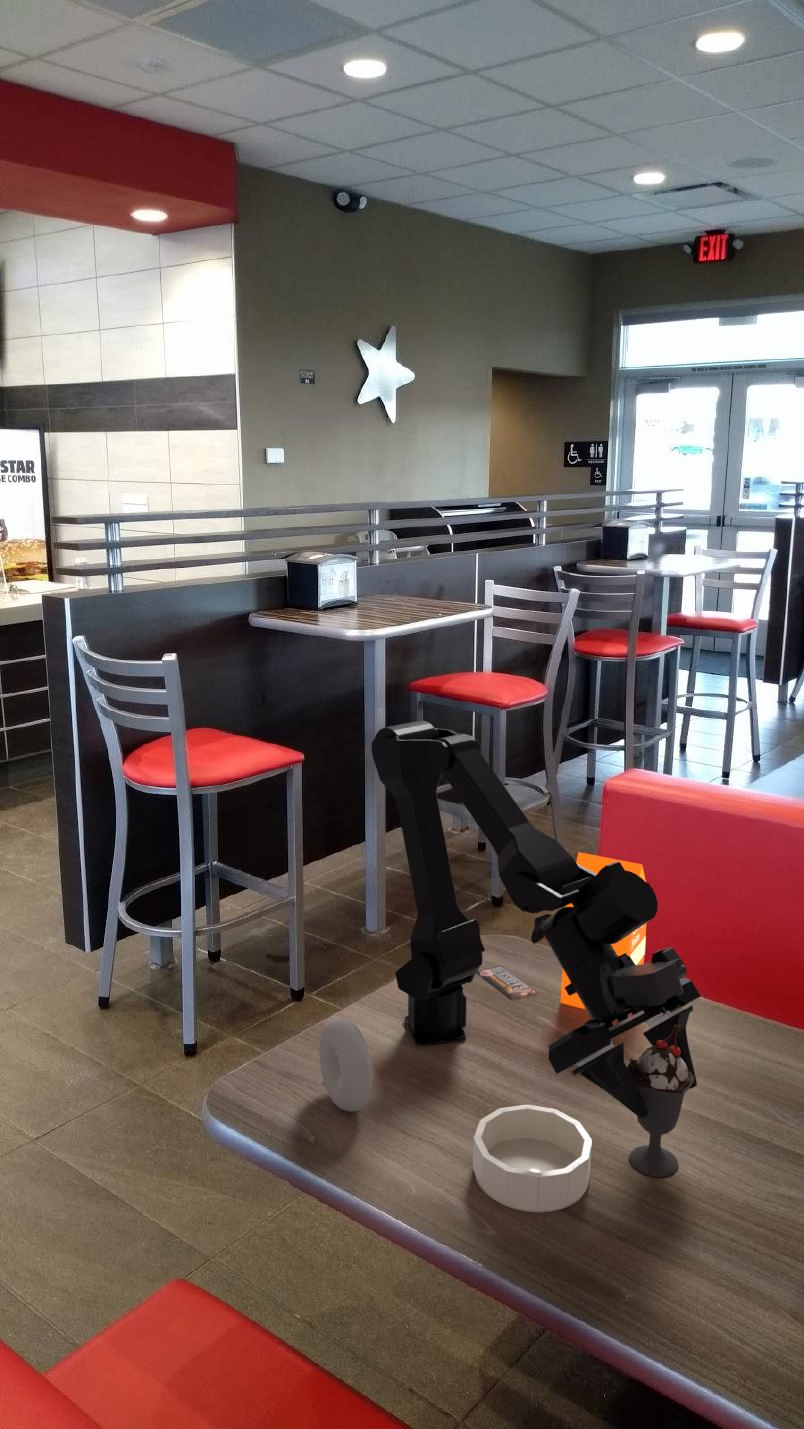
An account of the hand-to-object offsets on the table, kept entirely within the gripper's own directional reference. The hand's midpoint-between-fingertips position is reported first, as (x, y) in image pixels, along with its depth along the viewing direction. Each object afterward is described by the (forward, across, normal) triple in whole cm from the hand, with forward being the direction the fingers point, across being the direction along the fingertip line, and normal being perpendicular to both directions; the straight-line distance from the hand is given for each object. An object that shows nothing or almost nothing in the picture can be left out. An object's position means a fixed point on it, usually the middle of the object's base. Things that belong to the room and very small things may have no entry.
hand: (670, 1101), depth 107 cm
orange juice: (-14, +23, +25) cm, 36 cm away
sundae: (+5, 0, +6) cm, 8 cm away
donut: (-15, -18, +26) cm, 36 cm away
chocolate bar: (-21, +16, +33) cm, 42 cm away
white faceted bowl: (0, -11, +11) cm, 16 cm away
